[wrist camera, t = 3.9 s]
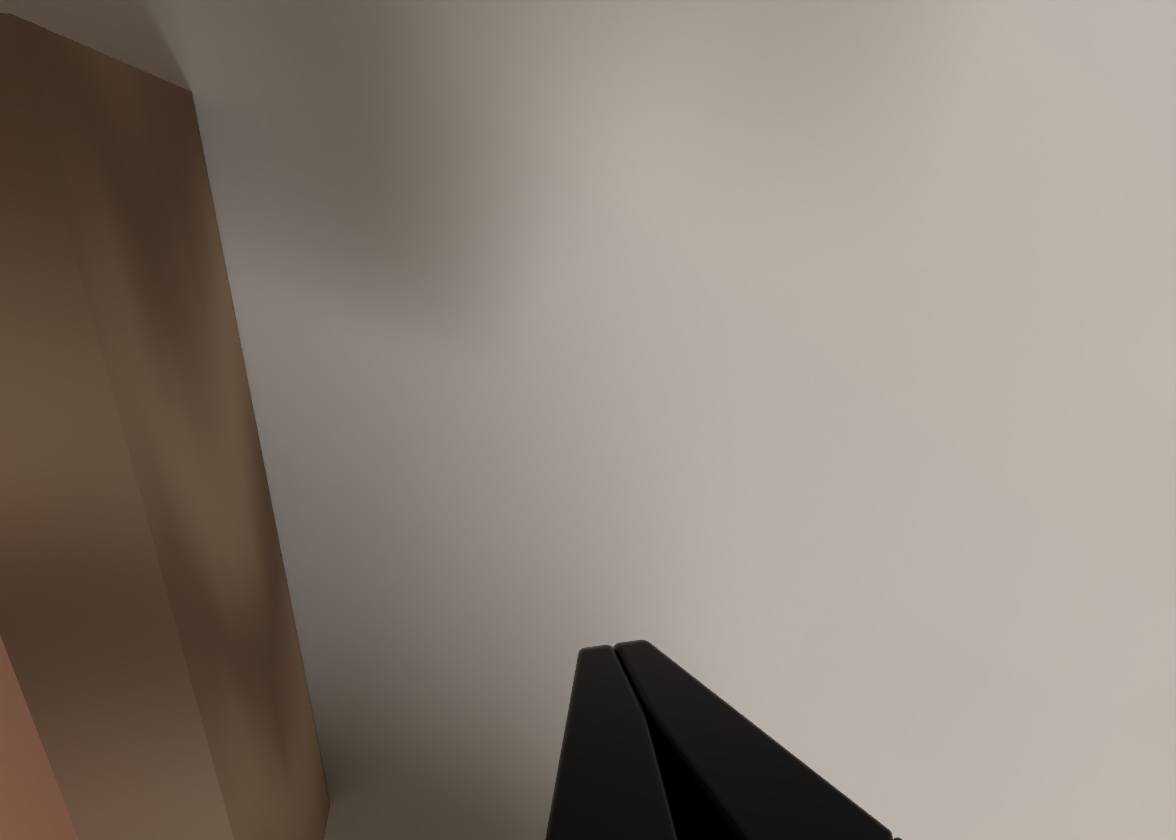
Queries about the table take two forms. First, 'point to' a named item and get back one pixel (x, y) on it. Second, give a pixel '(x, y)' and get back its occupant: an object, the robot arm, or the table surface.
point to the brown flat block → (136, 471)
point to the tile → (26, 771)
